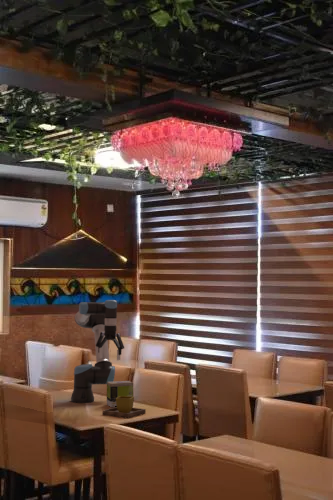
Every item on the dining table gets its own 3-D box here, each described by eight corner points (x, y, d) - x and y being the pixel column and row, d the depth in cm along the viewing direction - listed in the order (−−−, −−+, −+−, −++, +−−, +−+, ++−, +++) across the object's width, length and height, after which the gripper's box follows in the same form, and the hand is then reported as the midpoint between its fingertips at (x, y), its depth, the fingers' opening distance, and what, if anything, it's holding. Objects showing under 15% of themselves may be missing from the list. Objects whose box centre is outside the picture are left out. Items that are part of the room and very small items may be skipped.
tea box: (129, 403, 426) (129, 380, 427) (133, 406, 417) (133, 382, 418) (106, 404, 422) (106, 381, 422) (109, 407, 412) (110, 383, 413)
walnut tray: (102, 414, 388) (102, 410, 388) (120, 410, 403) (120, 406, 403) (127, 418, 378) (128, 413, 378) (145, 413, 393) (145, 409, 394)
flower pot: (115, 413, 387) (115, 398, 388) (120, 411, 396) (120, 395, 396) (129, 414, 385) (129, 398, 386) (134, 412, 393) (134, 396, 394)
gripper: (90, 324, 420) (89, 357, 420) (123, 326, 407) (122, 361, 407) (98, 323, 427) (97, 356, 426) (130, 326, 414) (129, 360, 413)
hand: (109, 359), depth 416 cm, fingers open, 13 cm apart
